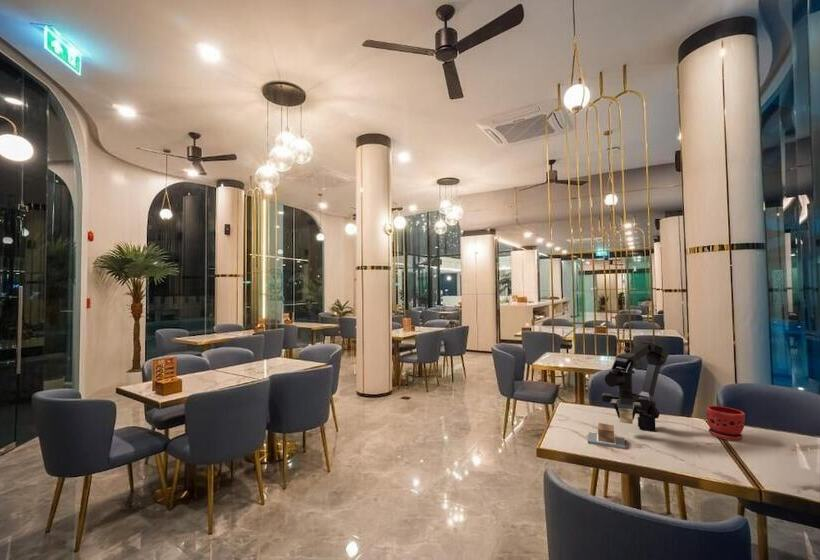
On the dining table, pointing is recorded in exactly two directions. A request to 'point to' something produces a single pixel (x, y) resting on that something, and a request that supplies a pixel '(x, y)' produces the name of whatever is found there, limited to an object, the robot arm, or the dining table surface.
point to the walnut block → (606, 433)
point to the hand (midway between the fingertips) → (625, 418)
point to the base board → (618, 442)
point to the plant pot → (725, 422)
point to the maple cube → (625, 415)
